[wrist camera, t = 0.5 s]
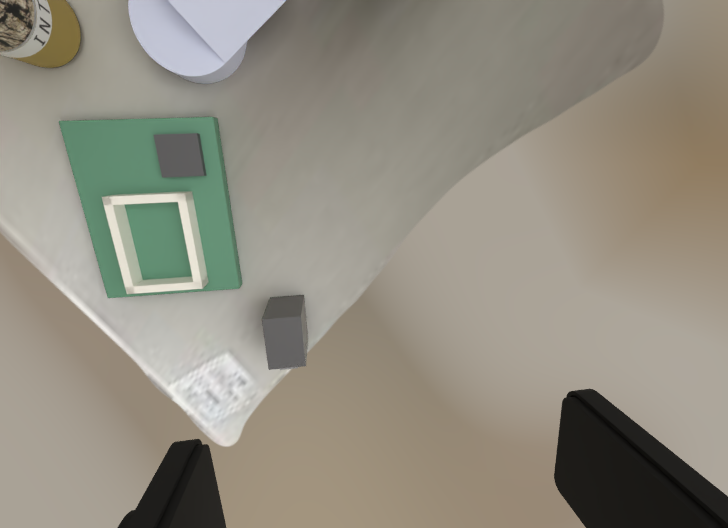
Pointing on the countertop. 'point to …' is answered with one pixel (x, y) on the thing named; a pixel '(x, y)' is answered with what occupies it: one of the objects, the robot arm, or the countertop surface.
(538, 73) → the countertop surface
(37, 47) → the bark patterned cylinder
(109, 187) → the board
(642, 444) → the robot arm
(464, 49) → the countertop surface
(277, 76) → the countertop surface
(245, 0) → the wedge on round base
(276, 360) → the plug
